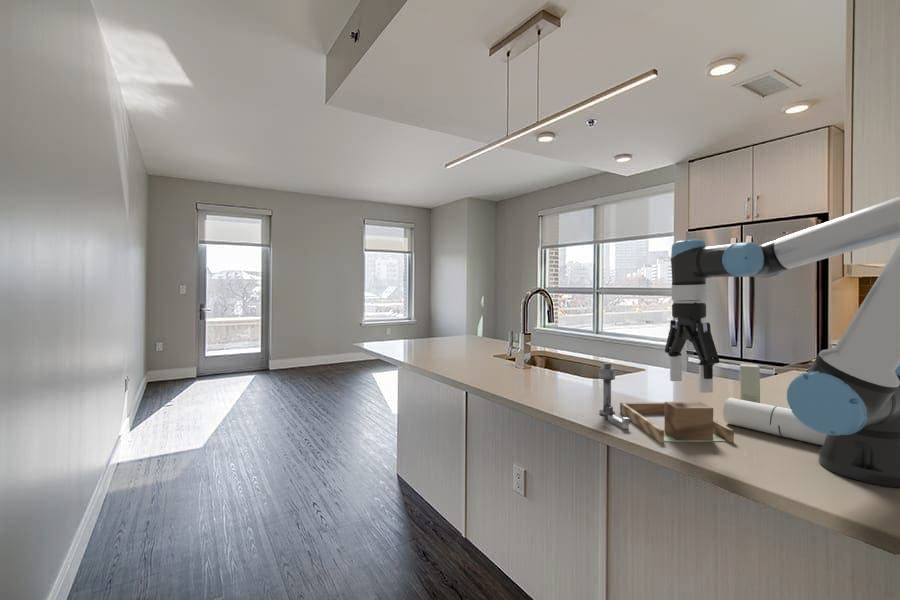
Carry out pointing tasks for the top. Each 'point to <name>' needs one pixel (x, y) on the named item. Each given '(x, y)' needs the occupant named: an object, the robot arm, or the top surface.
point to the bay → (657, 433)
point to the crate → (689, 421)
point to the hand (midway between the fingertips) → (690, 386)
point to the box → (750, 383)
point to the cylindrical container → (769, 420)
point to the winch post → (606, 385)
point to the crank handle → (617, 418)
